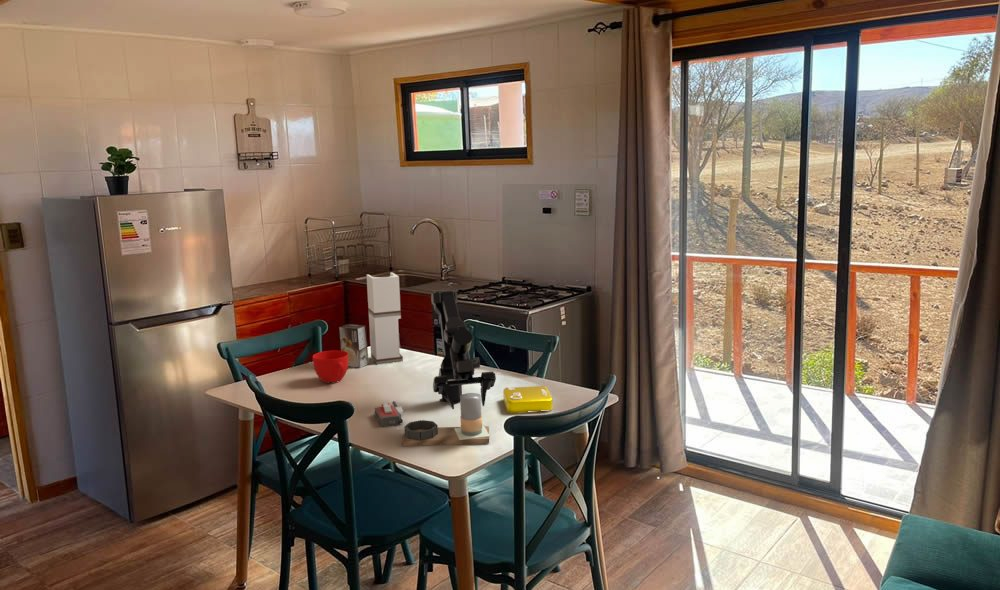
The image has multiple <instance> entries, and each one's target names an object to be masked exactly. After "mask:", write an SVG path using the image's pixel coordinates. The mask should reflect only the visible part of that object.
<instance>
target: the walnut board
mask: <svg viewBox="0 0 1000 590" xmlns="http://www.w3.org/2000/svg"><path fill="white" fill-rule="evenodd" d="M484 427H485V428H486V430H487V432H488V433H489V434H490V426H489V425H484ZM454 428H461V426H449V427H448V426H445V427H444V426H443V427H442V426H441V427H439V426H438V434H437V435H436V436H435V437H433V438H430V439H425V440H413V439H408V438H407V437H406V436H405V432H403V436H402V440H401V445H402V447H410V446H413V447H414V446H419V447H420V446H446V445H445V444H448V445H449V446H451V445H450V444H456V445H484V444H483V443H489V444H490V437H482V438H473V439H464V440H459V438H458V436H457V434H456V432H455V430H454ZM424 430H428V429H418V430H414V431H424ZM440 444H441V445H440Z"/></svg>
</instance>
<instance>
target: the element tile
mask: <svg viewBox="0 0 1000 590" xmlns="http://www.w3.org/2000/svg"><path fill="white" fill-rule="evenodd" d="M502 394H503V395H502V396H503V404H504V407H505V411H506V410H507V411H506V412H507V413H508V414H520V413H519V412H528V411H541V410H551V409H552V408H553V409H554V407H553V406H554V405H553V396H552V395H551V393H550V391H549V389H548V387H546V386H544V385H540V386H539V385H536V386H521V387H520V386H518V387H505V388H504V389H503V391H502Z"/></svg>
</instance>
